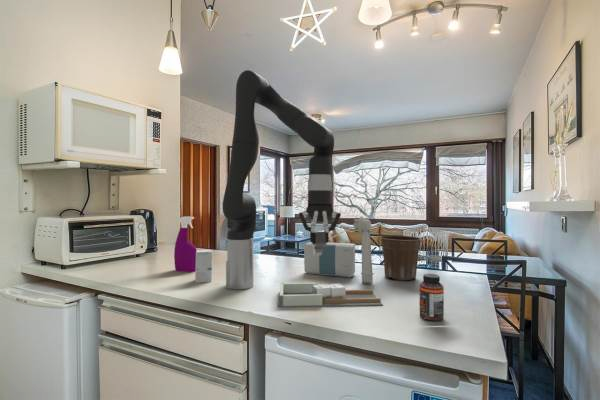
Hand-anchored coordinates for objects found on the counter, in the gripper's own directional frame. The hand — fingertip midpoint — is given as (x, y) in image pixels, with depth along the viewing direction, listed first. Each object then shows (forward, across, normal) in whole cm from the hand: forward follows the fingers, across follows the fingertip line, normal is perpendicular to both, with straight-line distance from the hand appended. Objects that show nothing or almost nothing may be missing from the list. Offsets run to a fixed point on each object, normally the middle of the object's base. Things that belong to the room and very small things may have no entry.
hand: (319, 243), depth 99 cm
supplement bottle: (+17, +28, -17) cm, 37 cm away
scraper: (+2, 0, +6) cm, 7 cm away
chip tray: (+18, -6, 0) cm, 19 cm away
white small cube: (+17, +5, -1) cm, 18 cm away
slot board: (+17, +3, 0) cm, 18 cm away
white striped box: (+18, +8, +33) cm, 38 cm away
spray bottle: (+19, -54, +40) cm, 69 cm away
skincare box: (+18, -42, +23) cm, 51 cm away
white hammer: (+18, +19, +19) cm, 32 cm away
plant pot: (+18, +36, +27) cm, 48 cm away
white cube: (+17, +1, -1) cm, 17 cm away
